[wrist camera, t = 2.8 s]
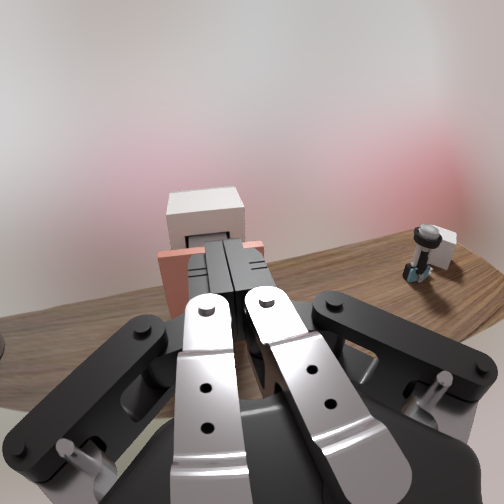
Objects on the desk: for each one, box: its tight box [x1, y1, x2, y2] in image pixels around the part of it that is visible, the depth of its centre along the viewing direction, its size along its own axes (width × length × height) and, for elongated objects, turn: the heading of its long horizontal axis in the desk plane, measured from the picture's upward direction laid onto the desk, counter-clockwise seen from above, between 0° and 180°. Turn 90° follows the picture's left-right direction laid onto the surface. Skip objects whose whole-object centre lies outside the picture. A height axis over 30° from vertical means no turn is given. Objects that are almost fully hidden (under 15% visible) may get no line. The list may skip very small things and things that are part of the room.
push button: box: [403, 224, 443, 283], centre depth 45 cm, size 7×5×10 cm
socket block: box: [166, 186, 245, 250], centre depth 37 cm, size 7×8×17 cm
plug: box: [158, 232, 264, 320], centre depth 30 cm, size 8×9×8 cm
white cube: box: [429, 225, 456, 270], centre depth 51 cm, size 6×6×6 cm
